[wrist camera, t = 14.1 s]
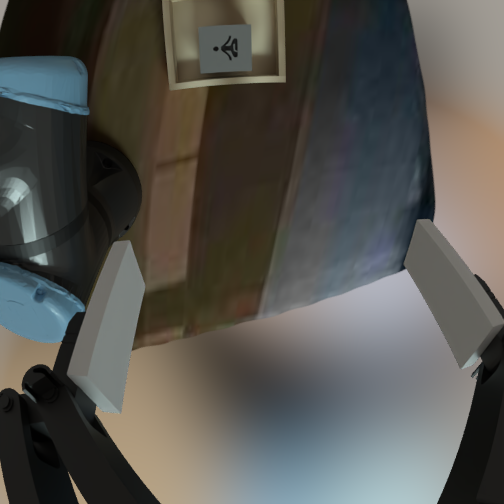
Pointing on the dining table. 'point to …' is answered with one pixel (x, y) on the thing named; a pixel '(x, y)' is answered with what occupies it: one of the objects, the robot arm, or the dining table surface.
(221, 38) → the dice cube
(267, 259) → the dining table surface
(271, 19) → the trough
